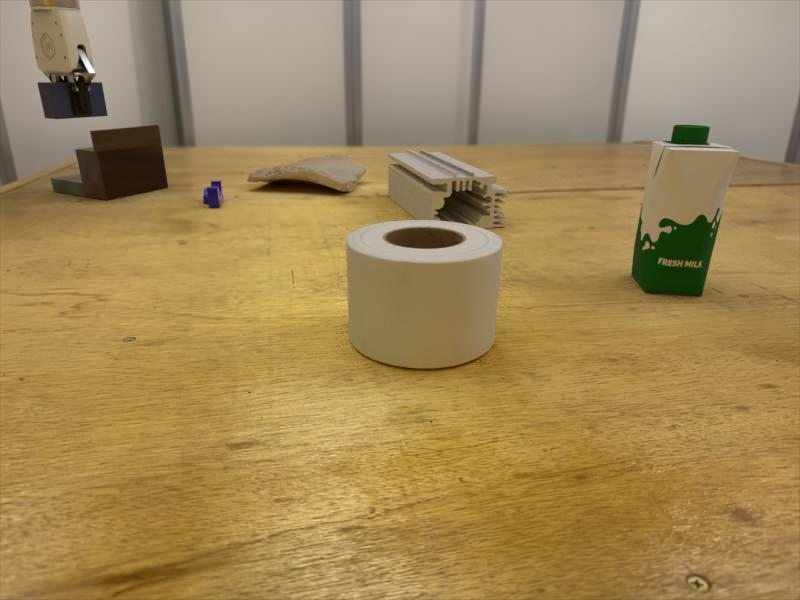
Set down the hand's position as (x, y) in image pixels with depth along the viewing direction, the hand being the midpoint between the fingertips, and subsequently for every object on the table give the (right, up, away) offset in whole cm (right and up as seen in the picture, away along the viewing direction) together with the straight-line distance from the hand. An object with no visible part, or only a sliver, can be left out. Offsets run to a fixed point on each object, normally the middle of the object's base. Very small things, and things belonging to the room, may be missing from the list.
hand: (76, 113), depth 102 cm
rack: (-6, -9, +24) cm, 26 cm away
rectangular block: (0, -1, 0) cm, 1 cm away
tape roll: (+62, -38, -43) cm, 85 cm away
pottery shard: (+39, -7, +31) cm, 50 cm away
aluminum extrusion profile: (+68, -17, +9) cm, 71 cm away
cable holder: (+21, -15, +12) cm, 29 cm away
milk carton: (+95, -33, -29) cm, 105 cm away
